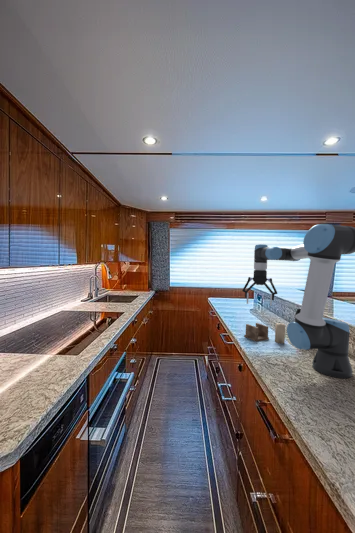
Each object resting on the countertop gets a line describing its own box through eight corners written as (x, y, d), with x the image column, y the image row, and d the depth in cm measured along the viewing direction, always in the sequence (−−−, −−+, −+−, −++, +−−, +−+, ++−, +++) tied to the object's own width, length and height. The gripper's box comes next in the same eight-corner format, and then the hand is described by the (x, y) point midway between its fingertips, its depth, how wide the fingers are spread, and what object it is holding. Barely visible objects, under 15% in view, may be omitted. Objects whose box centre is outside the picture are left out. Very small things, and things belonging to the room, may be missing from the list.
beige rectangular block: (286, 343, 141) (287, 324, 141) (280, 344, 138) (281, 325, 138) (278, 340, 146) (279, 322, 145) (272, 341, 143) (273, 323, 143)
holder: (268, 339, 146) (269, 326, 146) (256, 341, 141) (256, 328, 141) (256, 334, 155) (257, 322, 155) (244, 336, 150) (244, 324, 150)
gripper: (282, 270, 141) (280, 305, 141) (240, 269, 150) (238, 301, 150) (282, 270, 134) (281, 307, 134) (238, 269, 143) (237, 303, 143)
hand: (258, 304), depth 142 cm, fingers open, 13 cm apart
